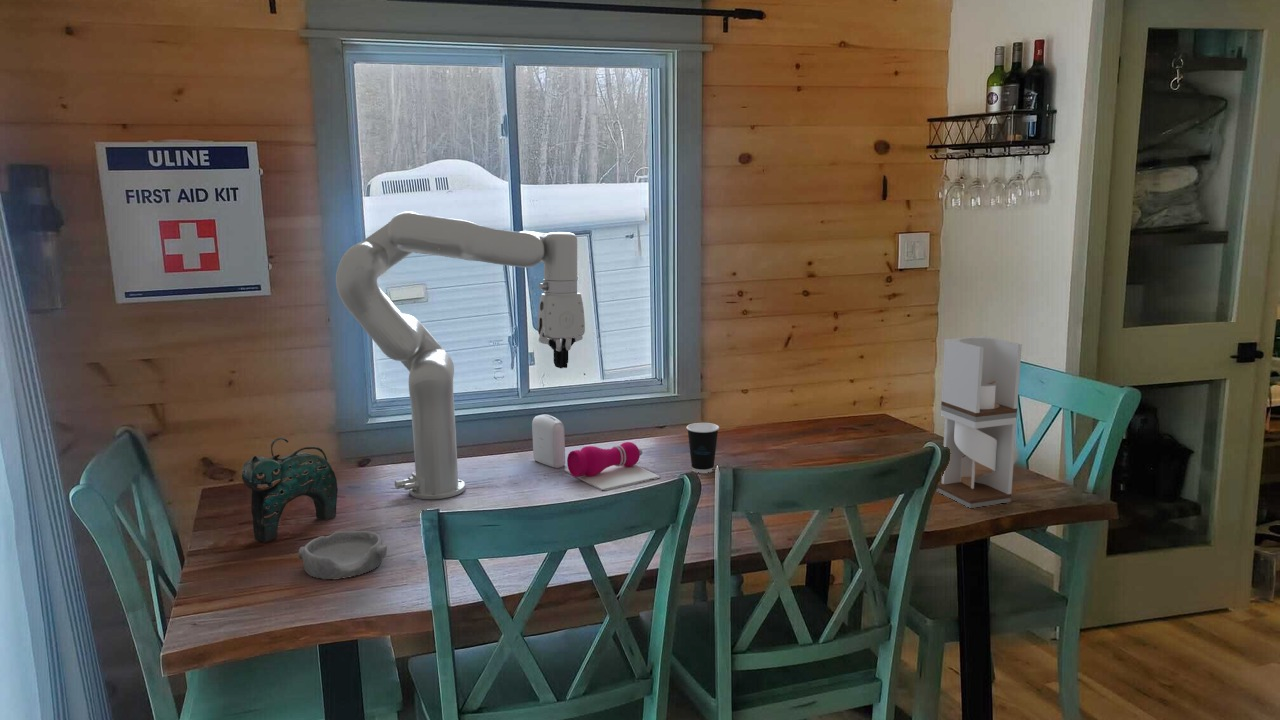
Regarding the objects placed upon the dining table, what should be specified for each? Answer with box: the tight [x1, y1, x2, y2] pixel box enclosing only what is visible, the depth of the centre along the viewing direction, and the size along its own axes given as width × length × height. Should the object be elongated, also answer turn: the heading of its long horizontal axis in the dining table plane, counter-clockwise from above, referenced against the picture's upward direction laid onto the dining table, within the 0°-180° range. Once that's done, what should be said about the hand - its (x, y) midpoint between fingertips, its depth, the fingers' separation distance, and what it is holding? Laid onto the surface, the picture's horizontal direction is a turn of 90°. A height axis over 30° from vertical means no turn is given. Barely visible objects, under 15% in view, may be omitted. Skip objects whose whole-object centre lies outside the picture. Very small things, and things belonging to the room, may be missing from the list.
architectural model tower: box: [936, 335, 1023, 509], centre depth 200 cm, size 11×11×35 cm
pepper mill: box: [566, 441, 643, 478], centre depth 223 cm, size 7×7×20 cm
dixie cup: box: [686, 422, 720, 474], centre depth 224 cm, size 8×8×11 cm
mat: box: [564, 464, 661, 491], centre depth 222 cm, size 16×18×1 cm
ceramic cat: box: [241, 437, 339, 544], centre depth 188 cm, size 20×6×20 cm, turn 145°
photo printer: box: [531, 414, 566, 469], centre depth 231 cm, size 10×4×12 cm, turn 39°
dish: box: [298, 530, 388, 580], centre depth 171 cm, size 14×14×5 cm
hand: (560, 367), depth 211 cm, fingers closed
